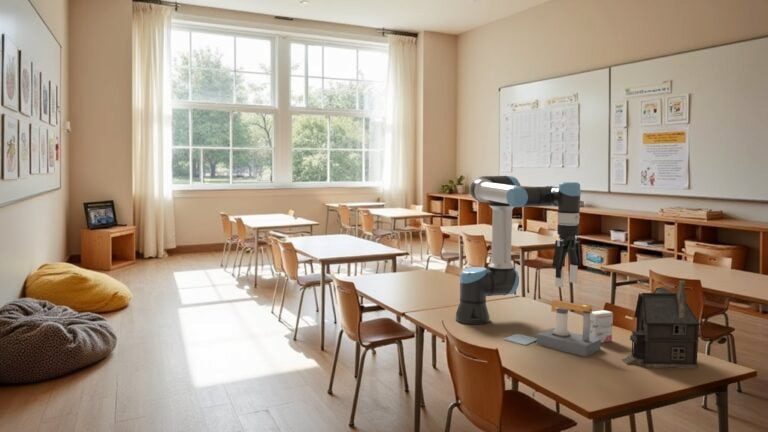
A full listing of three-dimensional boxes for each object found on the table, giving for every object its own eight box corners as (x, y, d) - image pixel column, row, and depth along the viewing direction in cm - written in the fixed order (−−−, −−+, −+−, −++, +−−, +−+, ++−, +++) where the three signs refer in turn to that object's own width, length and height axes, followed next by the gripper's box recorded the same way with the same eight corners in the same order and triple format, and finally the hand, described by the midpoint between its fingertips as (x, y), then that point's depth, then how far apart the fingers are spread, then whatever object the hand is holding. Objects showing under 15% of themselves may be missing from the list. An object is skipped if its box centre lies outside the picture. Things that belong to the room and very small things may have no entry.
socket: (536, 343, 217) (537, 306, 216) (552, 337, 226) (553, 301, 224) (585, 356, 203) (586, 316, 202) (600, 349, 211) (601, 310, 210)
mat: (503, 339, 223) (503, 338, 223) (517, 334, 230) (517, 333, 230) (525, 345, 215) (525, 344, 215) (538, 340, 222) (538, 339, 222)
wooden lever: (550, 311, 217) (550, 299, 217) (554, 310, 220) (555, 298, 219) (589, 320, 206) (589, 307, 205) (593, 318, 208) (594, 305, 208)
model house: (612, 351, 209) (615, 272, 207) (675, 352, 209) (679, 273, 206) (629, 367, 193) (633, 281, 190) (698, 368, 192) (703, 282, 190)
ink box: (603, 337, 226) (604, 309, 225) (612, 341, 221) (613, 312, 220) (586, 340, 222) (587, 311, 221) (595, 343, 218) (596, 314, 217)
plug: (549, 344, 217) (551, 309, 215) (557, 341, 221) (558, 306, 220) (564, 348, 212) (565, 312, 211) (571, 345, 216) (573, 309, 215)
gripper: (562, 227, 193) (560, 290, 195) (592, 223, 209) (590, 281, 211) (543, 225, 199) (541, 287, 201) (573, 221, 214) (571, 278, 216)
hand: (566, 284), depth 206 cm, fingers open, 10 cm apart
